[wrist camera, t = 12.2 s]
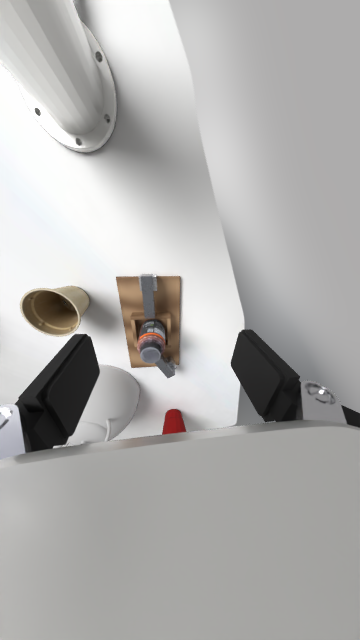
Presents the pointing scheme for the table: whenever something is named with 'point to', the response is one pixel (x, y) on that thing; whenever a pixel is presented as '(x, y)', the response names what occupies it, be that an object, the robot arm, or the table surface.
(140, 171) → the table surface
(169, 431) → the plastic cup
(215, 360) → the table surface
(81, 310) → the flower pot
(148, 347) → the supplement bottle
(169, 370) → the pair of grey blocks
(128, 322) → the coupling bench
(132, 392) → the kettle
